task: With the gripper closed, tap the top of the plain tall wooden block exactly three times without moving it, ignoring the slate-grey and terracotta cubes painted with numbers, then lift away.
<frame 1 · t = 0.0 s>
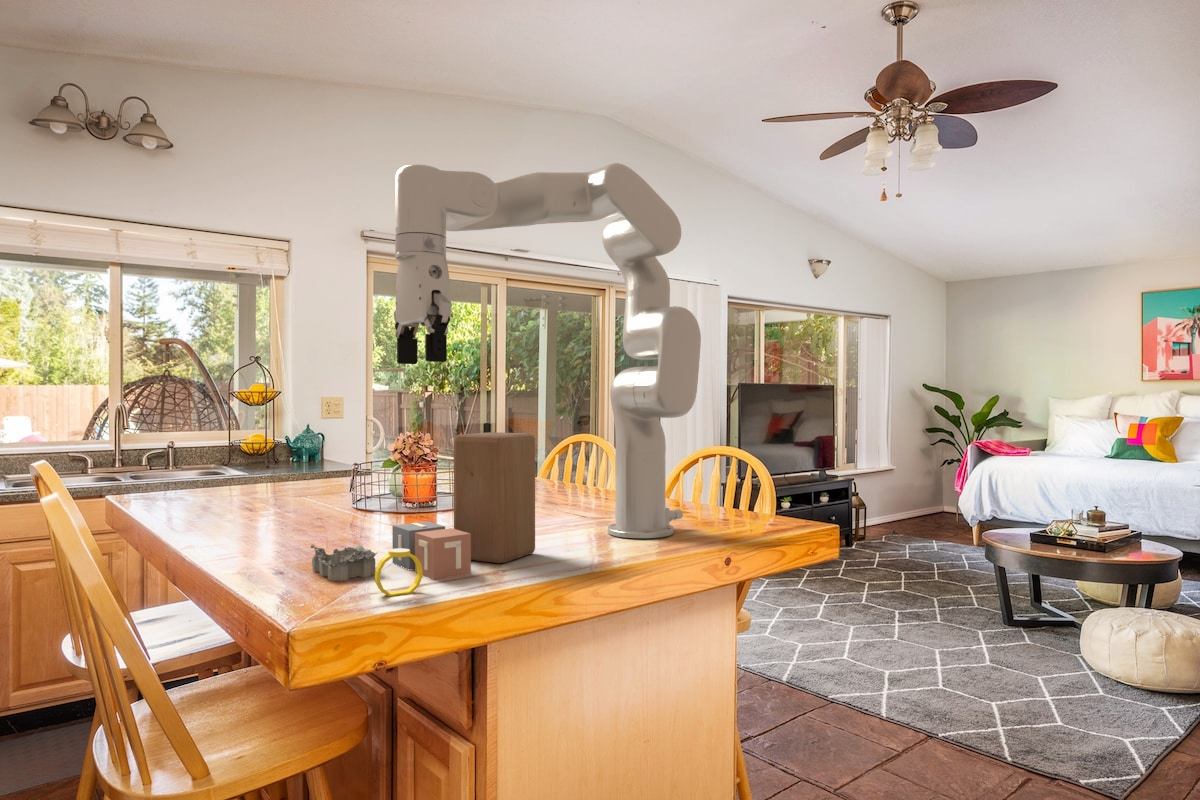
hand: (421, 362, 114), 31 cm above the countertop, fingers open, 9 cm apart
terracotta cube seven: (442, 573, 111), on the countertop
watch: (398, 595, 99), on the countertop
slate cube one: (418, 564, 117), on the countertop
wooden block: (495, 557, 122), on the countertop
egg carton: (344, 574, 112), on the countertop
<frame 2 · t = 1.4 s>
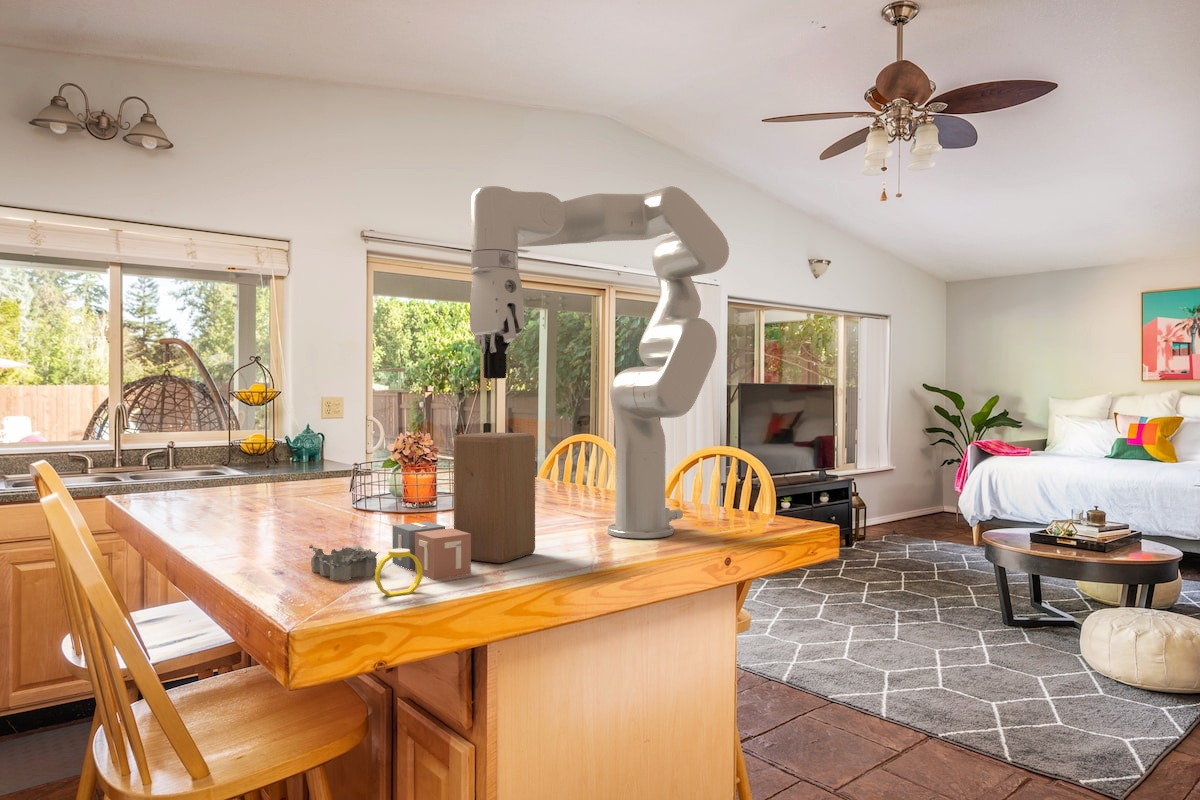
hand: (494, 377, 122), 29 cm above the countertop, fingers closed
nothing on the countertop moved.
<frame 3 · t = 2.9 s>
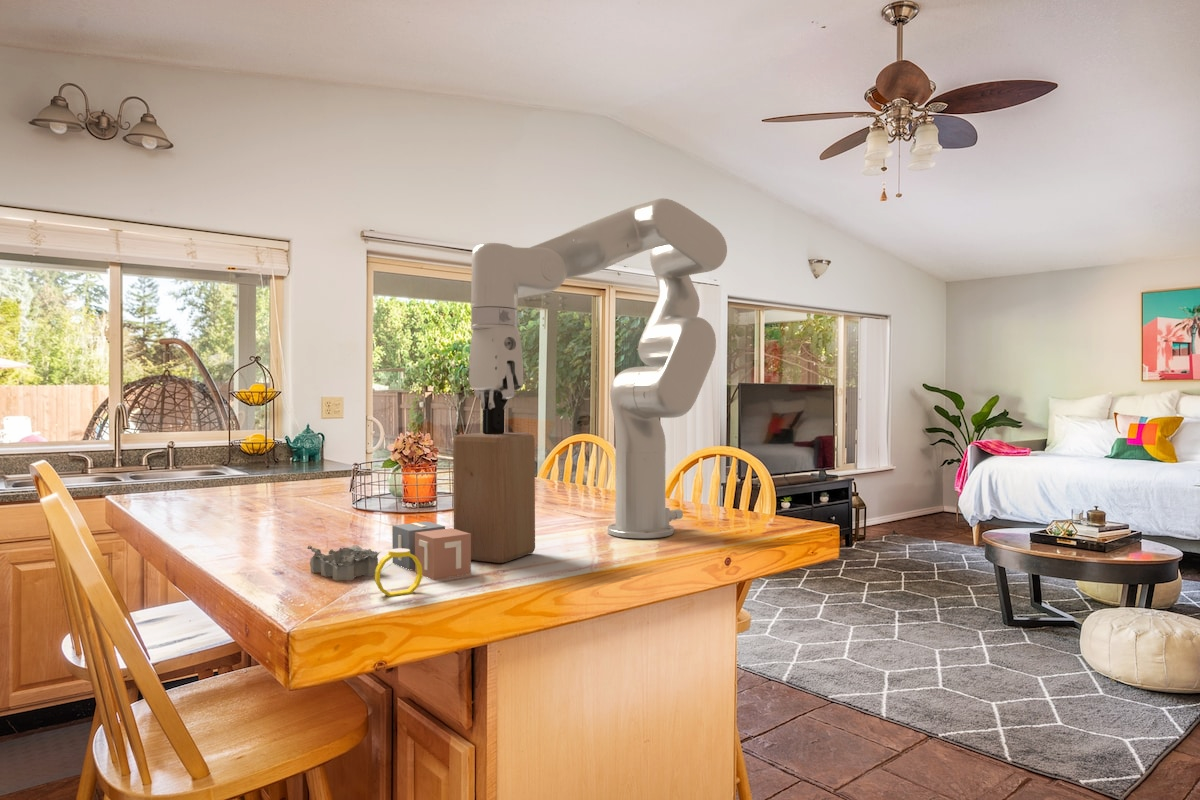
hand: (493, 433, 122), 20 cm above the countertop, fingers closed
wooden block: (495, 557, 122), on the countertop, touching gripper
everything else where it was.
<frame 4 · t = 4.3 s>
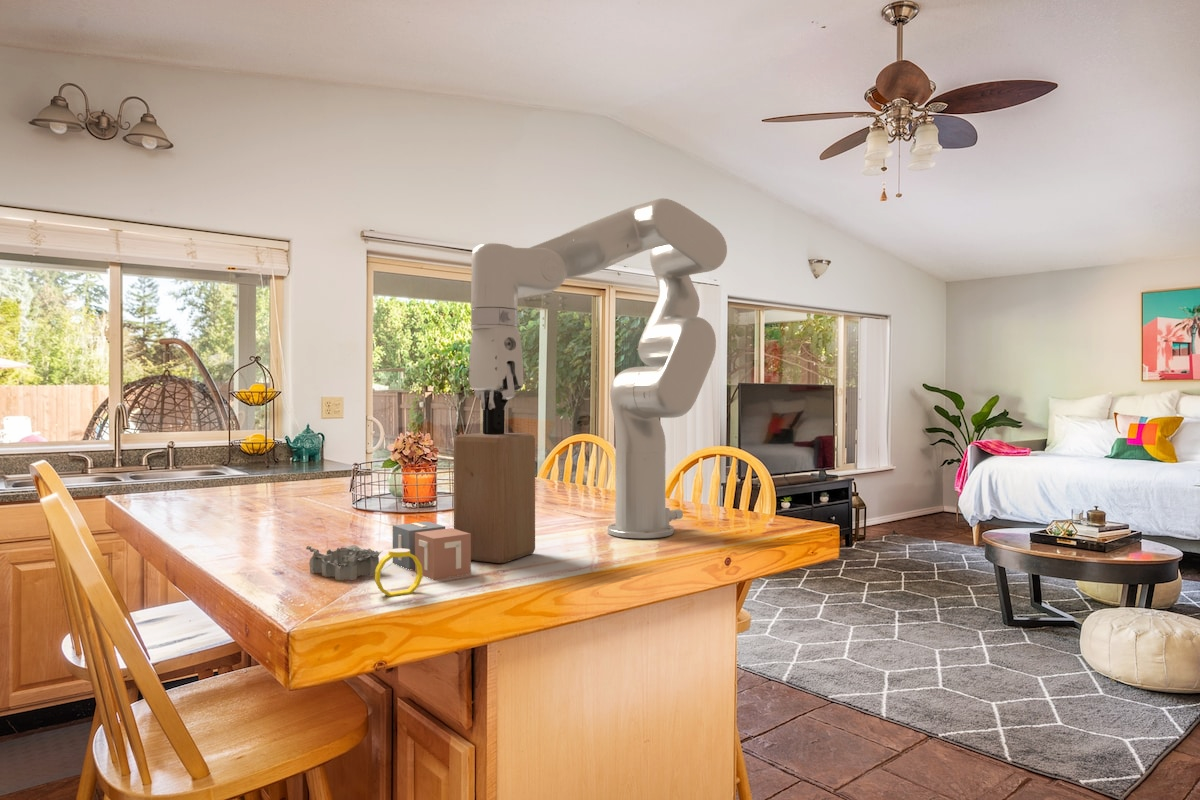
hand: (493, 433, 122), 20 cm above the countertop, fingers closed
nothing on the countertop moved.
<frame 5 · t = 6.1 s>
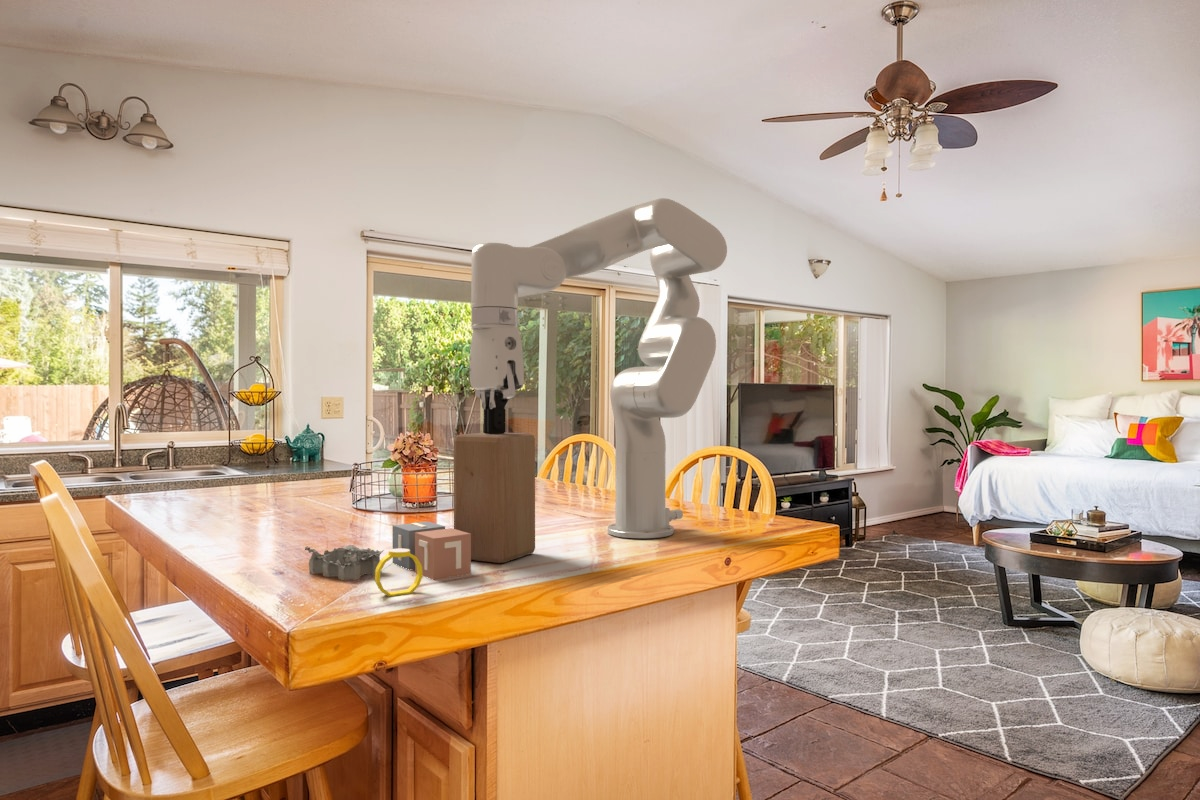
hand: (494, 433, 122), 20 cm above the countertop, fingers closed
wooden block: (495, 557, 122), on the countertop
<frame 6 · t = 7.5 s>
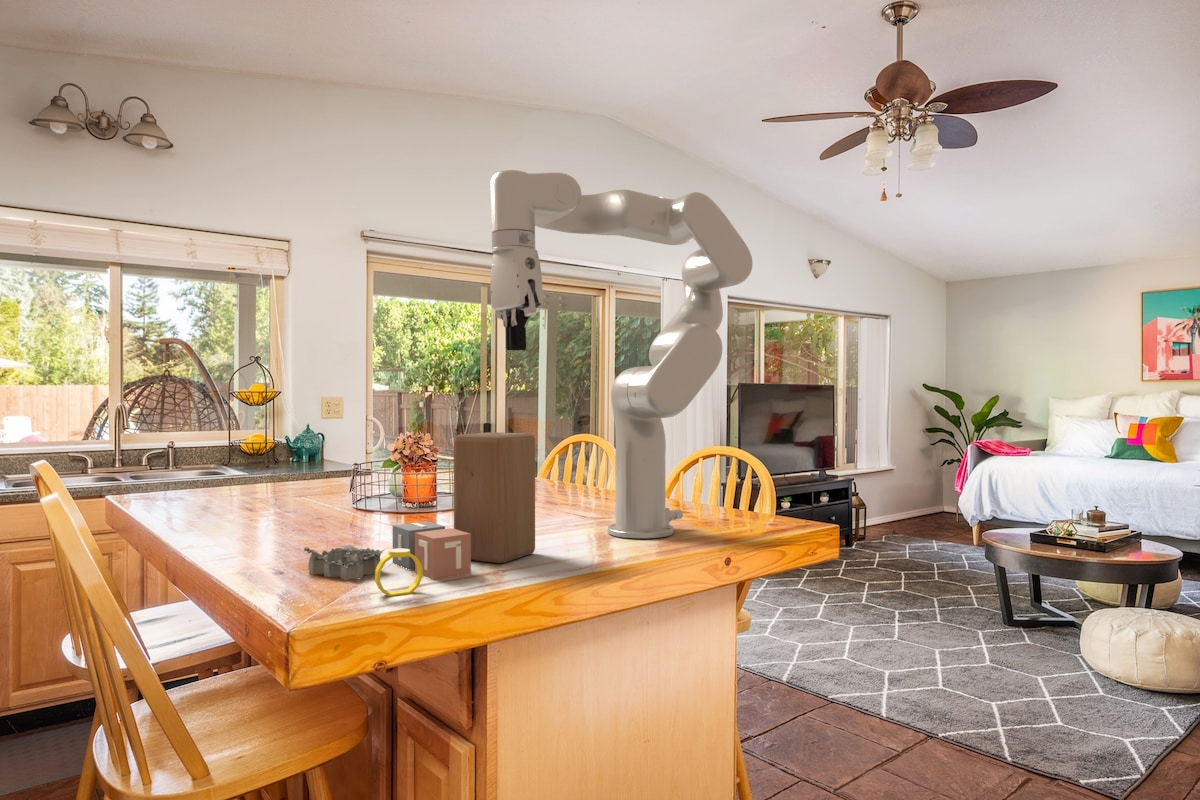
hand: (516, 349, 131), 34 cm above the countertop, fingers closed
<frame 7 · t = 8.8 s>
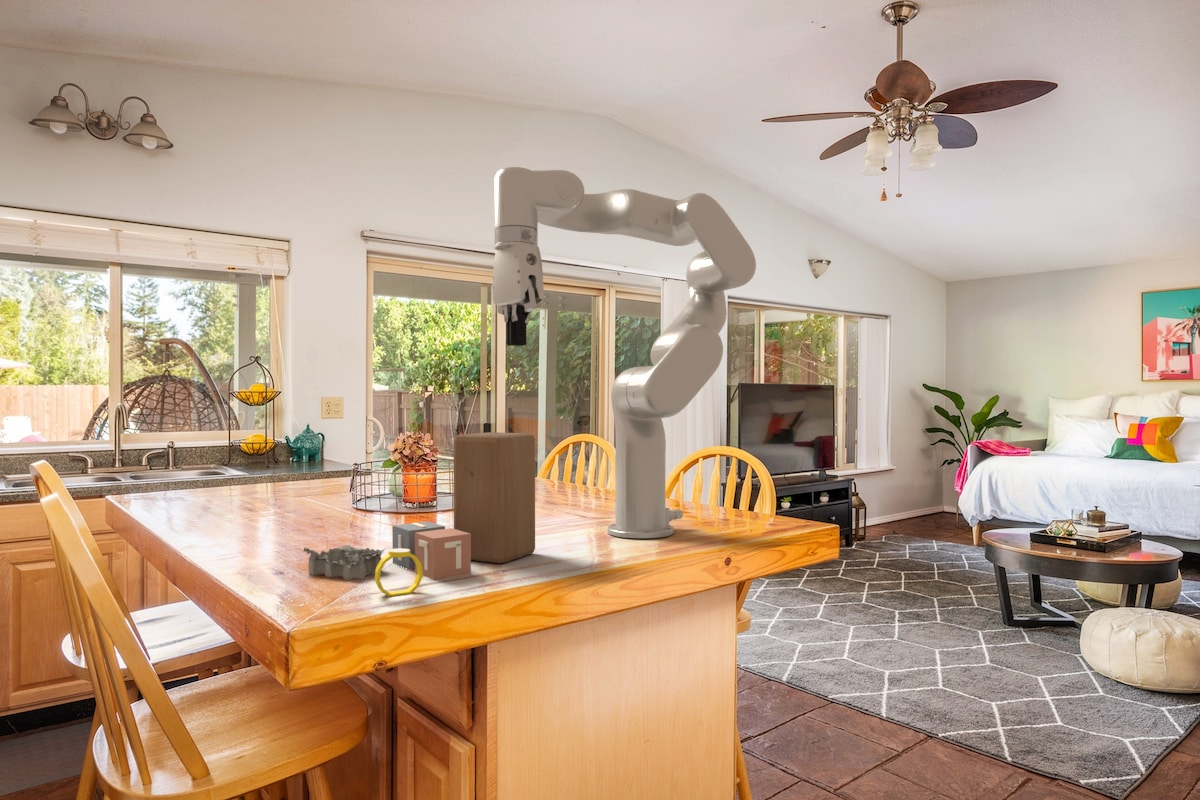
hand: (516, 345, 132), 35 cm above the countertop, fingers closed
at the end: wooden block moved 0.2 cm from its start; wooden block tilted 0°; slate cube one moved 0.1 cm from its start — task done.
